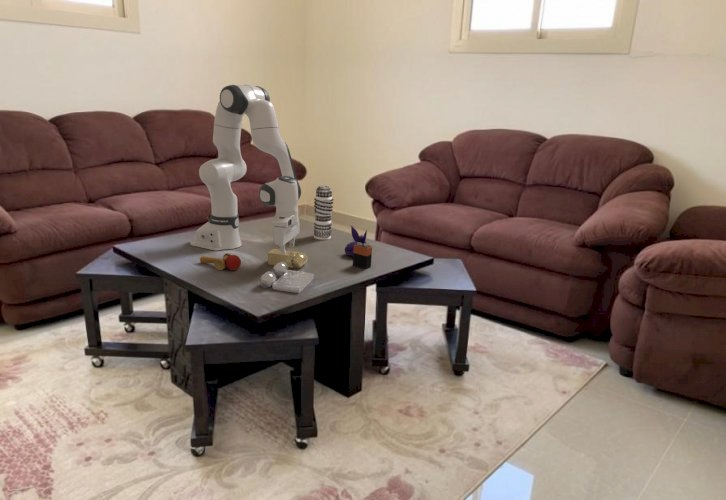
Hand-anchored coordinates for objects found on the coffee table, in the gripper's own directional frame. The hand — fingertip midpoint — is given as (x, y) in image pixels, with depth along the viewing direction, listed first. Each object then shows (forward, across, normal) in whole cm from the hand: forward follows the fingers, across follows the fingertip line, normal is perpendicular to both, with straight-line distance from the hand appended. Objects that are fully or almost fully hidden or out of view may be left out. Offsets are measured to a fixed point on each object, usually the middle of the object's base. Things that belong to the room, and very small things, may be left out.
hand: (287, 250), depth 213 cm
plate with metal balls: (+6, +19, +7) cm, 21 cm away
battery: (+7, -10, +29) cm, 31 cm away
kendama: (+6, +13, -24) cm, 27 cm away
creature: (+7, -25, +23) cm, 35 cm away
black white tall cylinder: (+6, -43, +2) cm, 43 cm away
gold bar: (+6, 0, 0) cm, 6 cm away
